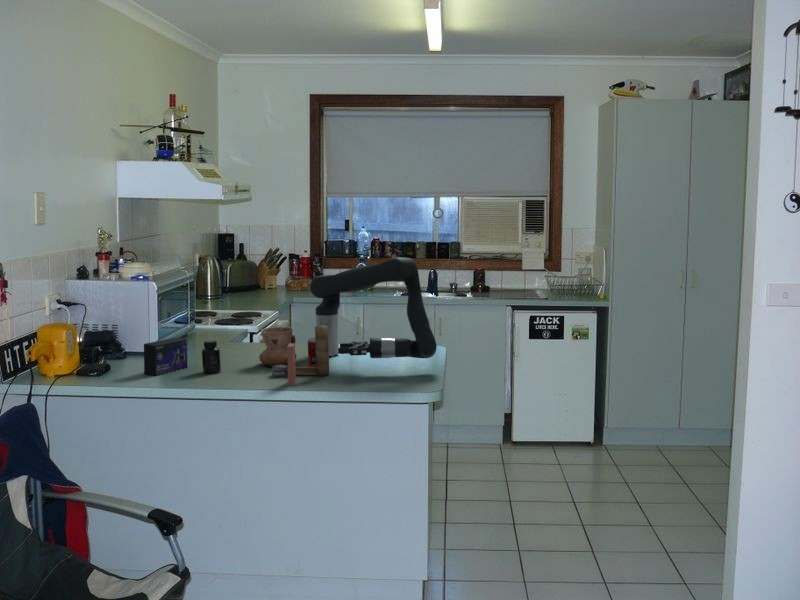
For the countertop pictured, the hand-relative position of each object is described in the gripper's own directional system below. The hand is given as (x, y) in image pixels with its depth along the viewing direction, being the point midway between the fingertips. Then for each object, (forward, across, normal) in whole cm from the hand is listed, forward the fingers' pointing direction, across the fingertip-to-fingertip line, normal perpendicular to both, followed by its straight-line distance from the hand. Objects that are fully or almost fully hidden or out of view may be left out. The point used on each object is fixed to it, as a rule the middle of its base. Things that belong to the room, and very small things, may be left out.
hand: (339, 348), depth 331 cm
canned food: (+9, -15, +10) cm, 20 cm away
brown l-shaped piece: (+14, 0, +10) cm, 17 cm away
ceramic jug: (+25, -21, +10) cm, 34 cm away
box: (+67, -11, +10) cm, 69 cm away
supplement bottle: (+49, -8, +10) cm, 51 cm away
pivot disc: (+22, 0, +10) cm, 24 cm away
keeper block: (+16, +13, +10) cm, 23 cm away
